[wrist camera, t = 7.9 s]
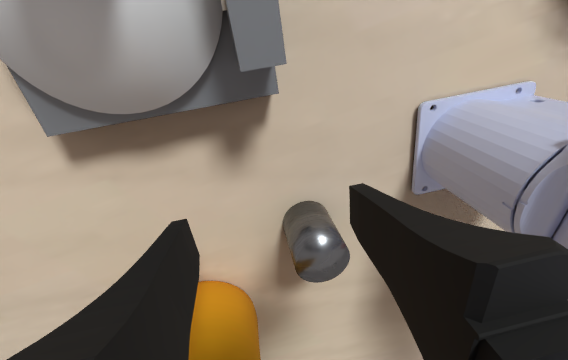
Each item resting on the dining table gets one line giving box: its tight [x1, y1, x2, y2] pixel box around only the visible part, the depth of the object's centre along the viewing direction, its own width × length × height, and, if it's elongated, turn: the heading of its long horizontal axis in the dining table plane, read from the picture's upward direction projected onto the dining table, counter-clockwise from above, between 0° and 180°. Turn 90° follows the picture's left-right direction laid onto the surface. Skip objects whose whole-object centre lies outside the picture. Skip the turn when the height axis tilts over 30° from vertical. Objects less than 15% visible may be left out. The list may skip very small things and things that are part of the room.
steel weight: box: [283, 201, 350, 282], centre depth 22 cm, size 4×4×5 cm
